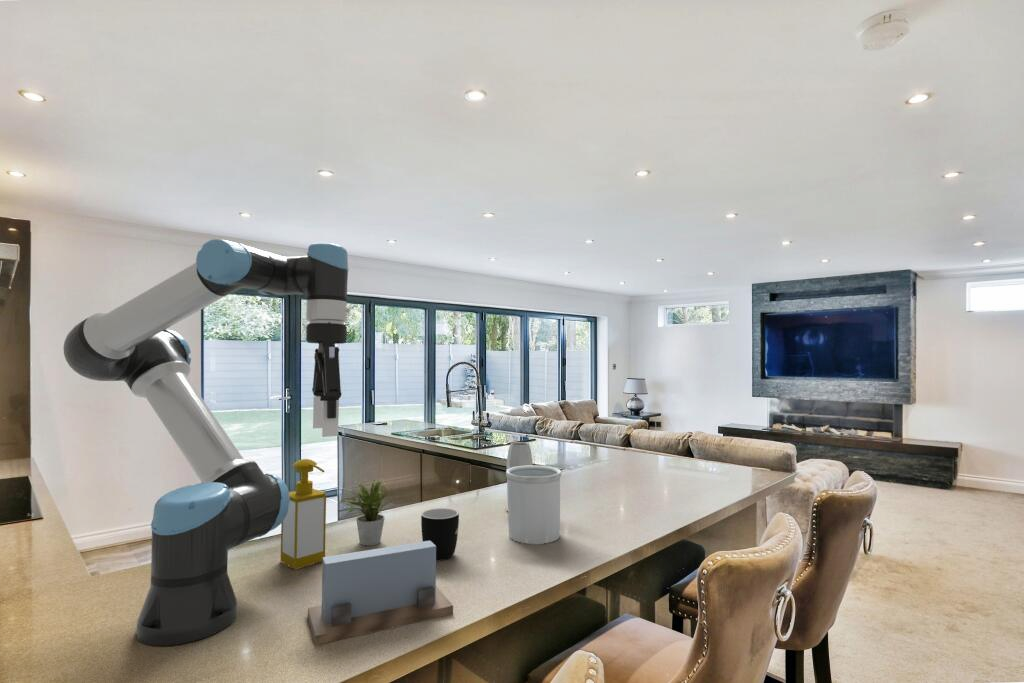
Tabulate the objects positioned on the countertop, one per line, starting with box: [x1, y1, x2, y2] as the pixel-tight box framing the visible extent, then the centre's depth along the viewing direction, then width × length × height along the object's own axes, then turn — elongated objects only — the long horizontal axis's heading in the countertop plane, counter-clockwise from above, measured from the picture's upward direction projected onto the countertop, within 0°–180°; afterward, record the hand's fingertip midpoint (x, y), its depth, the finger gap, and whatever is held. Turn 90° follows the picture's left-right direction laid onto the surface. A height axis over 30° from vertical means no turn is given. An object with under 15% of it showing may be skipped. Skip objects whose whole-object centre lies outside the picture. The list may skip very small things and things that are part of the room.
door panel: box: [321, 541, 437, 623], centre depth 97 cm, size 20×4×10 cm, turn 117°
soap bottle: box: [280, 458, 327, 570], centre depth 121 cm, size 7×13×24 cm, turn 47°
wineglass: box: [505, 441, 533, 512], centre depth 166 cm, size 9×9×21 cm
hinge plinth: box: [307, 586, 454, 646], centre depth 97 cm, size 24×11×4 cm, turn 117°
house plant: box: [341, 477, 396, 546], centre depth 137 cm, size 14×14×16 cm
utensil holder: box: [505, 464, 562, 545], centre depth 142 cm, size 15×15×18 cm
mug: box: [420, 507, 460, 562], centre depth 128 cm, size 12×9×10 cm
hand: (324, 432), depth 103 cm, fingers open, 13 cm apart
